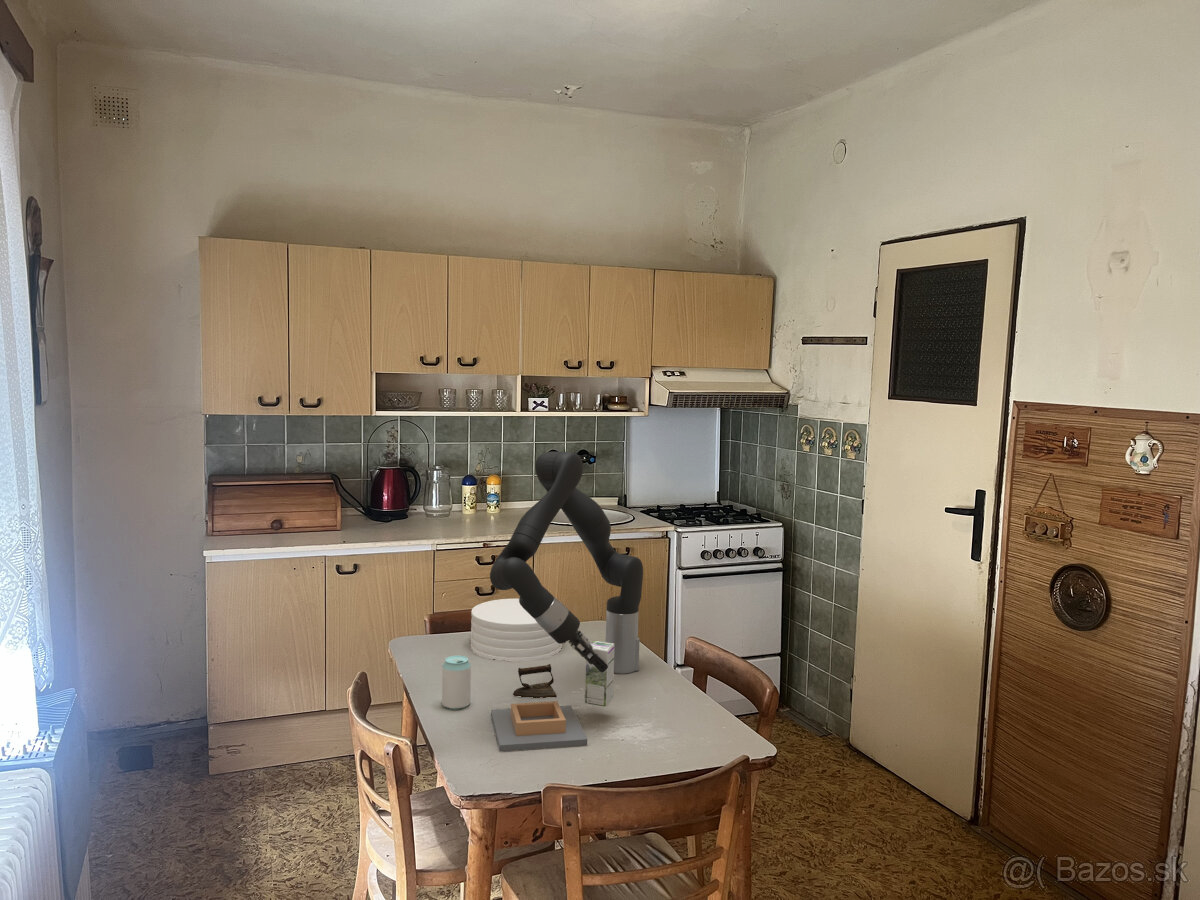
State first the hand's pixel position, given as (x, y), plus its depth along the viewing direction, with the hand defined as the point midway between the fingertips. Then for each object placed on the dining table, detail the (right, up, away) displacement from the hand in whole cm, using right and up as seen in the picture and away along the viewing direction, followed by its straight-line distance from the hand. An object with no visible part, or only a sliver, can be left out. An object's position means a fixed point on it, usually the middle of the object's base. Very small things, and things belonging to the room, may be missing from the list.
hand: (601, 663), depth 207 cm
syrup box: (-1, -10, +1) cm, 10 cm away
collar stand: (-15, -14, -7) cm, 22 cm away
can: (-37, -12, +6) cm, 39 cm away
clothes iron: (-18, -12, +15) cm, 26 cm away
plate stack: (-26, -8, +53) cm, 60 cm away
